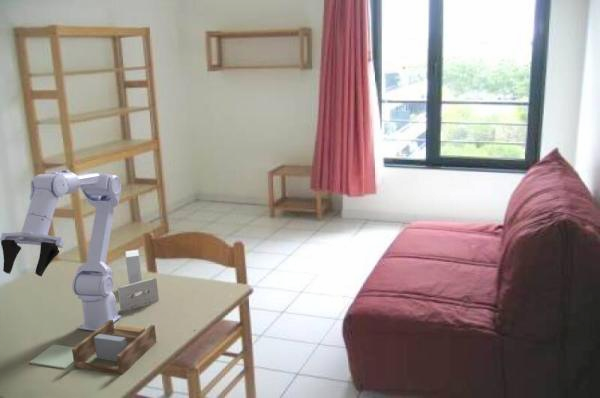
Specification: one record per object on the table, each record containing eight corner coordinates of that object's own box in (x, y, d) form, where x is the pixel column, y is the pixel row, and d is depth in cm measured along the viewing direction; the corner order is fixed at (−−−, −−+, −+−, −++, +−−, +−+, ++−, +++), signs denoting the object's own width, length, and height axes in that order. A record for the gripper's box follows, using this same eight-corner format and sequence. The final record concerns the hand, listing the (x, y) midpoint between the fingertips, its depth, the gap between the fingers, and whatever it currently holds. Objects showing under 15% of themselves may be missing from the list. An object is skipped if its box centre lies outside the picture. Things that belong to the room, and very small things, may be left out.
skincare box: (129, 284, 196) (125, 251, 193) (142, 282, 197) (138, 249, 194) (129, 291, 190) (125, 257, 187) (143, 289, 192) (139, 255, 188)
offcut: (118, 338, 161) (116, 323, 160) (147, 342, 158) (145, 327, 157) (113, 343, 159) (111, 328, 157) (142, 347, 156) (140, 331, 155)
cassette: (157, 299, 184) (155, 276, 182) (159, 301, 183) (157, 278, 181) (119, 310, 178) (116, 286, 176) (121, 312, 176) (118, 288, 174)
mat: (53, 345, 158) (53, 344, 158) (88, 350, 155) (88, 349, 154) (29, 363, 150) (29, 362, 149) (65, 369, 146) (65, 367, 146)
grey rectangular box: (101, 354, 153) (98, 333, 151) (128, 358, 150) (125, 337, 149) (96, 358, 151) (93, 337, 149) (123, 362, 149) (120, 341, 147)
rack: (112, 336, 162) (109, 319, 161) (156, 342, 158) (154, 325, 156) (74, 366, 147) (71, 349, 146) (122, 374, 143) (120, 356, 142)
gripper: (1, 210, 137) (-17, 265, 132) (61, 215, 136) (45, 270, 131) (15, 222, 144) (-2, 275, 138) (72, 226, 143) (58, 279, 137)
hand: (22, 273), depth 135 cm, fingers open, 7 cm apart
